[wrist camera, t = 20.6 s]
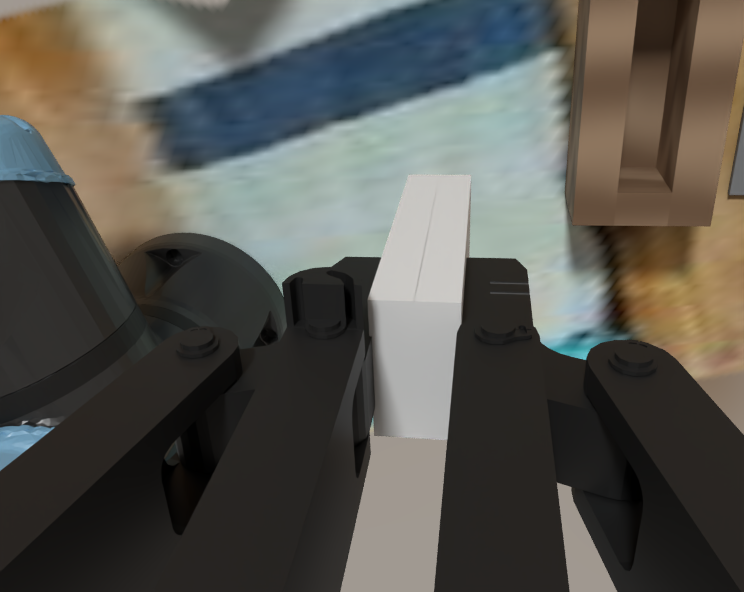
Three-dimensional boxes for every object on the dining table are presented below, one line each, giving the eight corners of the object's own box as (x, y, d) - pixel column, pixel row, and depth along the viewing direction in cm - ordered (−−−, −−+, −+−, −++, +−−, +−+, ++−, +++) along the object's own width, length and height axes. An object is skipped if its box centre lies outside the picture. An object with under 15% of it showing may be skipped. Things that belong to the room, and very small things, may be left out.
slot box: (687, 193, 47) (710, 226, 42) (564, 192, 49) (572, 225, 44) (729, -75, 40) (763, -75, 35) (583, -67, 41) (595, -66, 36)
